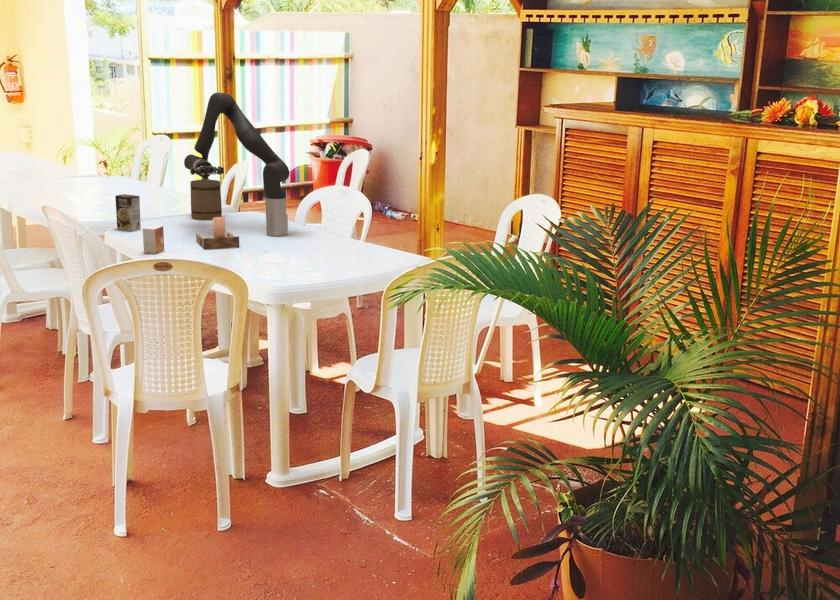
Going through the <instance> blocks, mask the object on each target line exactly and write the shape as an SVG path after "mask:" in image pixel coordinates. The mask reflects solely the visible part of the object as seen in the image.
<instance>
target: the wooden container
mask: <svg viewBox="0 0 840 600" xmlns="http://www.w3.org/2000/svg"><path fill="white" fill-rule="evenodd" d="M189 183H190V185H189V186H190V213H191V219H193V220H197V221H213V217H223V213H222V192H221V191H222V190H221V189H222V188H221V181H220V180H217V179H210V178H209V177H205V178H204V177H201V179H195V180H191V181H190V182H189Z"/></svg>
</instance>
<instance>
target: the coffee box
mask: <svg viewBox="0 0 840 600" xmlns="http://www.w3.org/2000/svg"><path fill="white" fill-rule="evenodd" d="M140 199H141V198H140V195H133V194H132V195H131V194H125V193H123V194H118V195H115V215H116V230H117V231H121V230H123V231H122V232H129V231H134V232H138V231H141V230H142V229H141V205H140V204H141V201H140ZM140 229H141V230H140ZM137 230H138V231H137Z"/></svg>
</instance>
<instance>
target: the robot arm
mask: <svg viewBox="0 0 840 600" xmlns="http://www.w3.org/2000/svg"><path fill="white" fill-rule="evenodd" d="M221 114H223V115H225V117H227V119H228V120H229V121H230V123H231V124H232V125H233V128H234V132H235V135H236V138H237V139H238V141H239V143H241V144H242V146H243V147H244V148H245V149H246V151H248V152H249V153H251V154H252V155H253V156H255V157H257V158H258V159H260V160H261V161H262V162H263V163H264V164H265V165H264V167H263V171H262V183H263V191H264V192H263V193H264V194H265V218H266V220H265V224H266V225H265V226H266V227H265V231H266V235H267V236H270V237H283V236H288V235H289V225H288V224H289V221H288V220H289V215H288V213H287V192H286V191H285V190H284V189H282V187H281V183H282V182H285V181H287V180H288V179H290V178H289V177H290V170H289V167H288V165H287V163H285V161H283V160H282V159H281V157H279V156H278V154H276V152H275V151H274V149H272V148H271V146H270V145H269V144H268V143H267V141H266V140H265V139H264V138H263V136H262V135H261V134H260V133H259V131H258V129H256V127H255V126H254V125H253V124H252V123H251V122H250V120H249V119H248V118H247V116H246V115H245V114H244V113H243V111H242V109H241V108H240V107H239V105H238V103H237V102H236V100H235V99H234V98H233V96H232V95H230V94H229V93H225V92H214V93H212V95H211V96H210V97H209V100H208V102H207V106H206V111H205V114H204V119H203V123H202V126H201V130H200V132H199V135H198V138H197V139H196V142H195V144H194V150H195V151H196V152H197V153H199V154H200V155H201V157H200V156H197V155H194V154H193V153H192V154H188V155H187V156H185V158H184V161H183V164H184V167H185V169H187V170H189V173H190V174H191V175H192V176H193V175H196V176H199V177H201V178H202V177H204V178H205V177H208V178H209V177H210V176H211V175H220V176H221V175H223V174H225V173H224V167H222V166H221V165H219V166H213V164H211V163H210V162H209V161H208V159H209V154H210V151H211V148H212V146H213V143H214V142H215V136H216V124H217V121H218V119H219V116H220V115H221Z"/></svg>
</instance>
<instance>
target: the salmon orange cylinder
mask: <svg viewBox="0 0 840 600" xmlns="http://www.w3.org/2000/svg"><path fill="white" fill-rule="evenodd" d="M225 219H226V218H225V217H224V216H222V217H213V220H212V230H213V234H212V235H213V238H221V237H226V220H225Z"/></svg>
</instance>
